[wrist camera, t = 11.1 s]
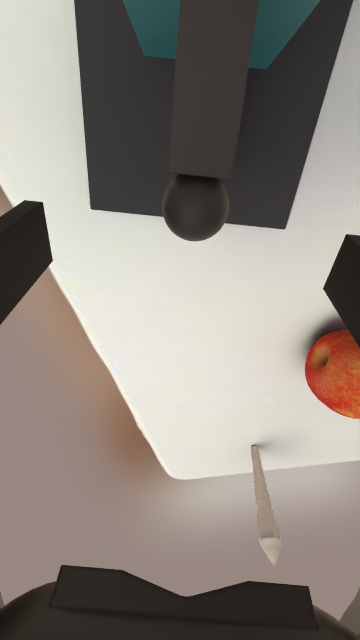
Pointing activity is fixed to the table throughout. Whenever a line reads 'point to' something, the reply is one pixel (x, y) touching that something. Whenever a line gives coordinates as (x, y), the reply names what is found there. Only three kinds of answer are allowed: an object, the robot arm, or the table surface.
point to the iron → (209, 91)
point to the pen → (265, 512)
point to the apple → (335, 372)
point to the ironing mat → (156, 115)
